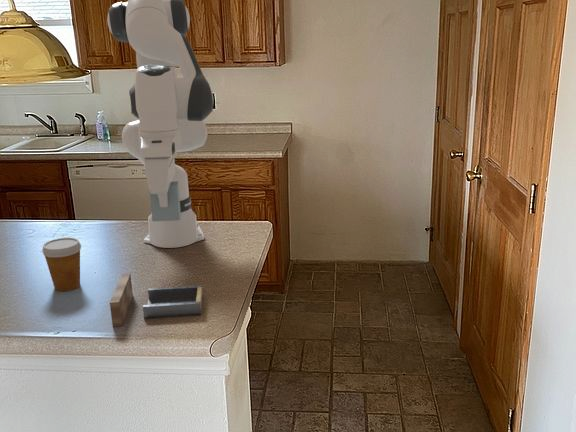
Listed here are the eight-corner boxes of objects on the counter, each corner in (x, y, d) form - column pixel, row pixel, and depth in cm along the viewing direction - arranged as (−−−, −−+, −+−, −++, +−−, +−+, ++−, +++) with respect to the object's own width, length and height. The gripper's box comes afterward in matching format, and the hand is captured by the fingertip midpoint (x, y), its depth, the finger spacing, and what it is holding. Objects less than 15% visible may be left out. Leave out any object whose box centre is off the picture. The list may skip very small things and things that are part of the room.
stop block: (154, 216, 132) (151, 182, 130) (180, 214, 133) (178, 181, 130) (152, 221, 129) (149, 187, 126) (179, 220, 129) (176, 185, 127)
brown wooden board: (124, 295, 144) (122, 273, 142) (132, 295, 144) (130, 273, 142) (112, 326, 129) (109, 302, 127) (121, 326, 129) (118, 302, 127)
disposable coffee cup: (89, 277, 155) (83, 235, 152) (83, 292, 146) (77, 248, 143) (52, 280, 154) (45, 238, 150) (44, 295, 145) (36, 251, 141)
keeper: (149, 299, 142) (148, 288, 141) (202, 296, 143) (201, 285, 142) (144, 318, 132) (142, 306, 131) (200, 315, 133) (200, 303, 132)
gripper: (151, 134, 135) (156, 191, 139) (138, 151, 116) (145, 217, 120) (178, 133, 136) (182, 190, 140) (170, 150, 116) (175, 215, 120)
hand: (165, 202), depth 130 cm, fingers closed on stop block, 4 cm apart
